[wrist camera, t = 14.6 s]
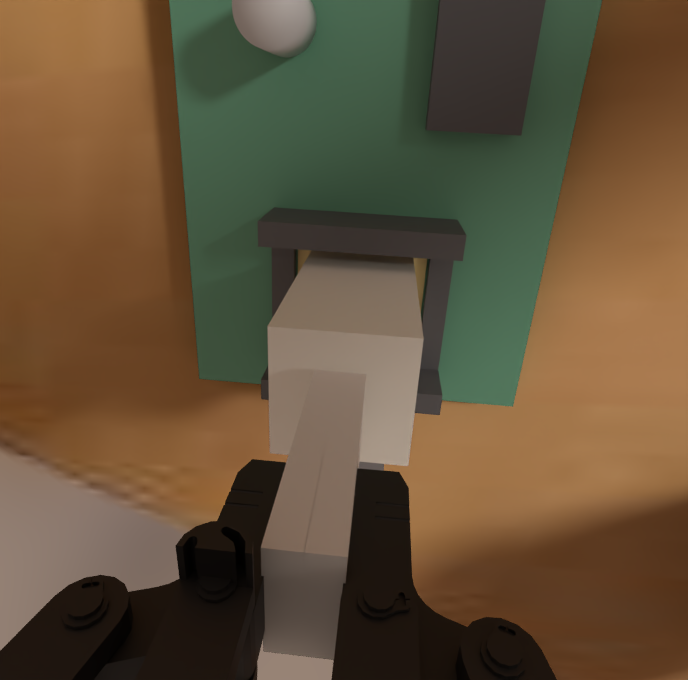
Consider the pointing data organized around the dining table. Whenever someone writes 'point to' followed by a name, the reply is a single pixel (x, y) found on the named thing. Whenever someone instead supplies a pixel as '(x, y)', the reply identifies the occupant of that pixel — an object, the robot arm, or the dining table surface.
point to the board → (378, 165)
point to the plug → (349, 347)
